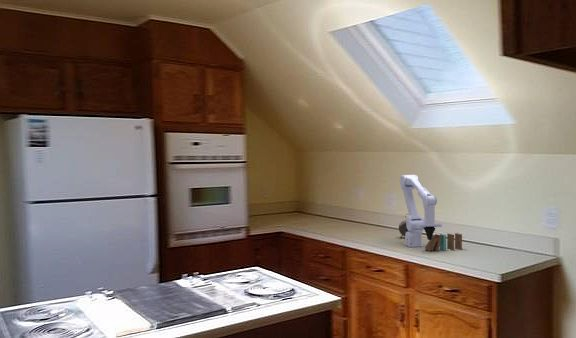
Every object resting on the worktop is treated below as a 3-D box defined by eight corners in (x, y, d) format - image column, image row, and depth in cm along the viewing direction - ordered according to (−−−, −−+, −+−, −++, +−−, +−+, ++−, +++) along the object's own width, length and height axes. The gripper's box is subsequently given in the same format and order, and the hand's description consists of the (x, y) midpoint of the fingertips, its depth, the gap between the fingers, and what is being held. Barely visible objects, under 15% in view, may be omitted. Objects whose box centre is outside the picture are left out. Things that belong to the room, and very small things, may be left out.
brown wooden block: (428, 250, 290) (436, 236, 291) (424, 248, 295) (432, 235, 296) (430, 251, 290) (438, 238, 291) (426, 249, 295) (434, 236, 296)
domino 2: (435, 250, 291) (439, 235, 291) (431, 248, 296) (435, 233, 296) (438, 251, 291) (442, 236, 291) (434, 249, 296) (437, 234, 296)
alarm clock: (414, 237, 335) (414, 213, 334) (416, 238, 329) (417, 214, 328) (398, 237, 335) (398, 213, 334) (400, 239, 329) (400, 214, 328)
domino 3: (451, 250, 293) (451, 235, 293) (447, 248, 298) (447, 233, 297) (454, 250, 293) (454, 234, 293) (449, 248, 298) (449, 233, 298)
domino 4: (459, 249, 294) (459, 234, 294) (454, 248, 299) (455, 233, 298) (461, 249, 294) (462, 234, 294) (457, 248, 299) (457, 233, 299)
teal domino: (443, 250, 292) (443, 235, 292) (439, 249, 297) (439, 233, 296) (446, 250, 292) (446, 235, 292) (442, 248, 297) (442, 233, 297)
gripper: (421, 217, 287) (420, 241, 287) (444, 216, 289) (444, 240, 290) (415, 216, 293) (415, 239, 294) (438, 215, 296) (438, 238, 297)
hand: (429, 239), depth 293 cm, fingers closed
